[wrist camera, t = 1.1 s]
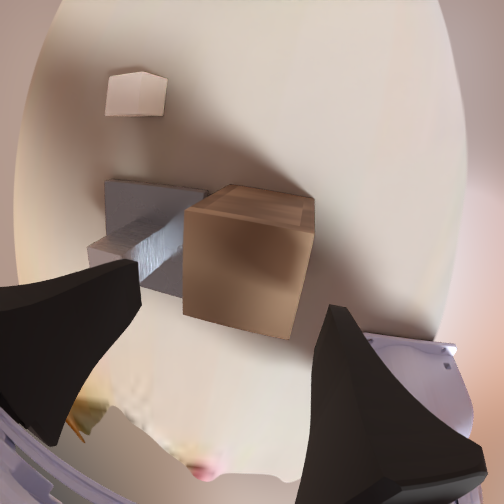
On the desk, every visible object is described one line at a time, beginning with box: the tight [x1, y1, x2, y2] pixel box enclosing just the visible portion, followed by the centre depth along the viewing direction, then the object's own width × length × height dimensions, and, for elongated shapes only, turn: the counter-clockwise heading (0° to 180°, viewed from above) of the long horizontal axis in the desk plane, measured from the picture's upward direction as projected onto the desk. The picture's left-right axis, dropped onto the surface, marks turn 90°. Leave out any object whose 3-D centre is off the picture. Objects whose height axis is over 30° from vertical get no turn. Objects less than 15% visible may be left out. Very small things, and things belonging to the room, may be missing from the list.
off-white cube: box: [105, 71, 168, 117], centre depth 14 cm, size 3×3×3 cm
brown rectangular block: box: [183, 184, 315, 340], centre depth 15 cm, size 5×5×7 cm
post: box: [87, 179, 208, 298], centre depth 17 cm, size 8×8×6 cm
